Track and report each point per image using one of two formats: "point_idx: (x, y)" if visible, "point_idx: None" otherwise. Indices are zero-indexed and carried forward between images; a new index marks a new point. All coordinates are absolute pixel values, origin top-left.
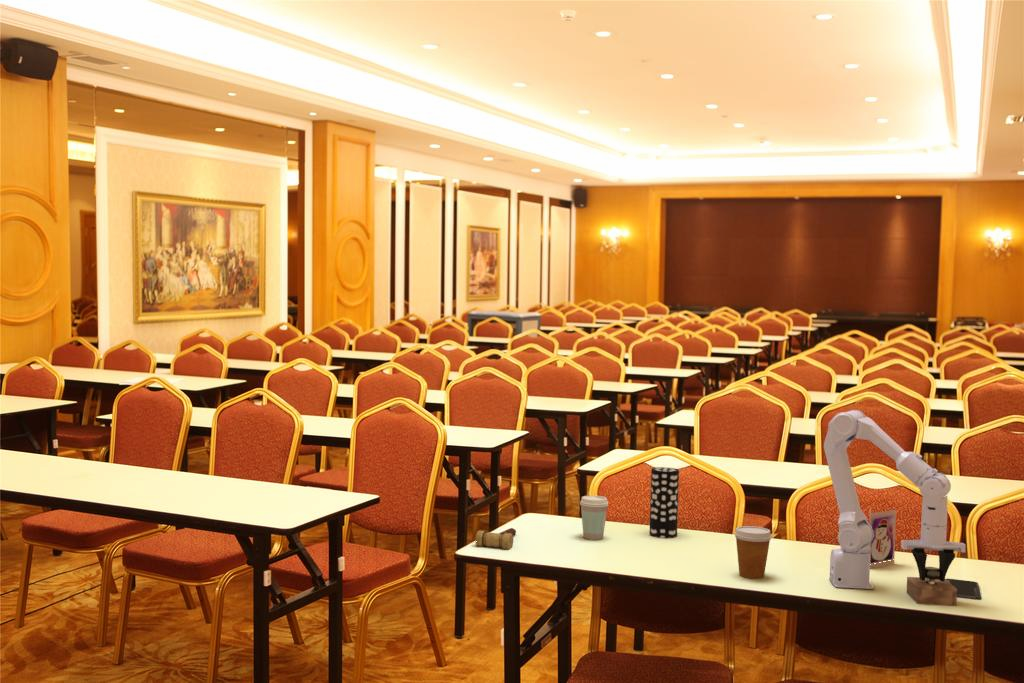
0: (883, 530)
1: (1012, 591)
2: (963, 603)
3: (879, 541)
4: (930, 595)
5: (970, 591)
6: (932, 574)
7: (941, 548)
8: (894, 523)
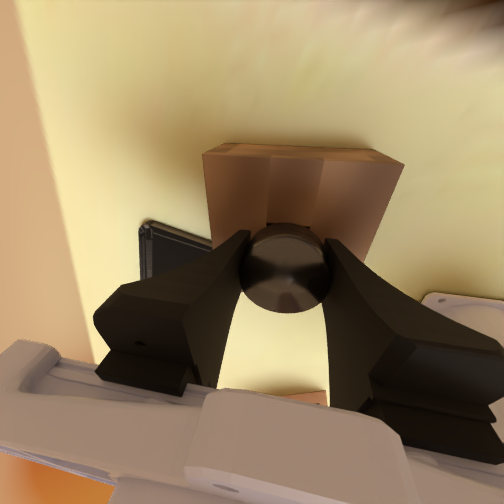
0: None
1: (82, 282)
2: (195, 177)
3: None
4: (326, 152)
5: (161, 270)
6: (300, 237)
7: (224, 400)
8: None
